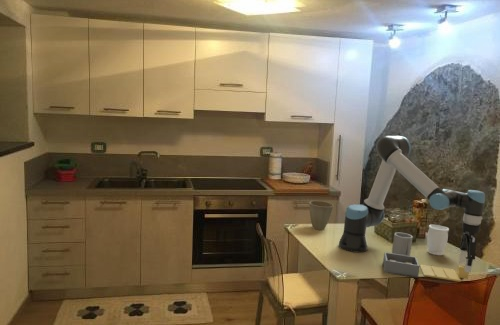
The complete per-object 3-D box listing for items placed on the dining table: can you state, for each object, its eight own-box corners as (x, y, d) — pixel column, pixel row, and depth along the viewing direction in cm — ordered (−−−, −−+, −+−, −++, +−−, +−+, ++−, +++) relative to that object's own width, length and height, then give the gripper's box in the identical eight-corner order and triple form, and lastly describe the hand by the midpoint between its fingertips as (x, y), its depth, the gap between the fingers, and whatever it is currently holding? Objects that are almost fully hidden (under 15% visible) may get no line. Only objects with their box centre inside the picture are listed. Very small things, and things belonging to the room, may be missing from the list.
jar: (447, 257, 227) (451, 231, 225) (427, 254, 229) (431, 228, 226) (442, 251, 237) (446, 225, 235) (423, 248, 239) (427, 223, 237)
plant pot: (306, 230, 256) (309, 205, 254) (307, 223, 271) (309, 199, 268) (330, 233, 254) (333, 207, 252) (330, 226, 268) (333, 202, 266)
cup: (396, 252, 228) (399, 231, 227) (412, 257, 222) (415, 236, 220) (388, 255, 222) (391, 234, 220) (404, 261, 216) (407, 239, 214)
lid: (423, 276, 198) (425, 265, 198) (419, 266, 211) (420, 256, 210) (470, 283, 194) (472, 272, 193) (463, 272, 206) (465, 262, 206)
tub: (384, 272, 198) (386, 260, 197) (382, 263, 210) (384, 252, 209) (417, 278, 195) (419, 265, 194) (414, 268, 206) (416, 257, 206)
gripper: (487, 231, 185) (480, 278, 188) (473, 218, 207) (466, 260, 210) (469, 228, 186) (462, 275, 189) (457, 215, 208) (450, 258, 212)
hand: (464, 267), depth 200 cm, fingers open, 10 cm apart
